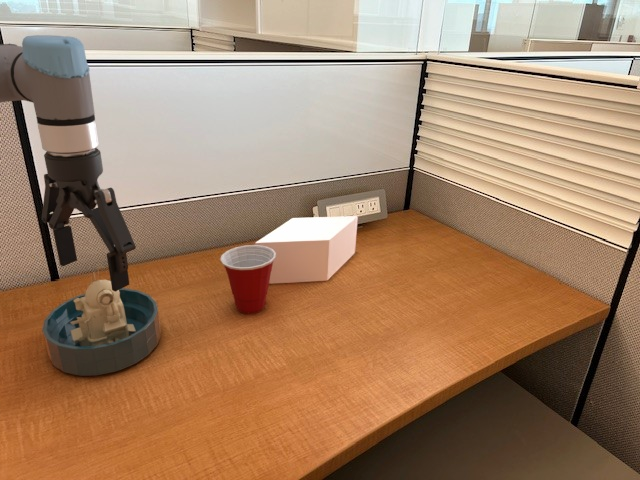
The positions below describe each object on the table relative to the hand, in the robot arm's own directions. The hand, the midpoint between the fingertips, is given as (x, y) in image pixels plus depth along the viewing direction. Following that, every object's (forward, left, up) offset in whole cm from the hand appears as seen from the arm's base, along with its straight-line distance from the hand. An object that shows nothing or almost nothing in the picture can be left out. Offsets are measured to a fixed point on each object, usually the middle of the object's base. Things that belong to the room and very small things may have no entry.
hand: (93, 274), depth 80 cm
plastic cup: (+13, +24, -14) cm, 31 cm away
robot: (0, 0, -14) cm, 14 cm away
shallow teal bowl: (0, 0, -14) cm, 14 cm away
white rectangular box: (+14, +45, -14) cm, 49 cm away
